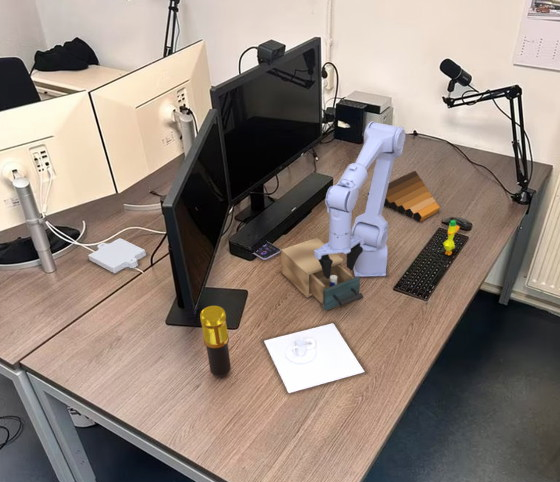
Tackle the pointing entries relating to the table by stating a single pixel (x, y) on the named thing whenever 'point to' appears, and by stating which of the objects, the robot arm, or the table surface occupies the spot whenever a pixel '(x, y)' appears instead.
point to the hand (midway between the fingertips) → (338, 272)
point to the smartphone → (267, 251)
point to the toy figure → (450, 237)
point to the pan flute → (410, 197)
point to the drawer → (335, 288)
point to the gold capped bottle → (216, 340)
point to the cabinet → (304, 263)
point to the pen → (333, 280)
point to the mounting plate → (117, 255)
